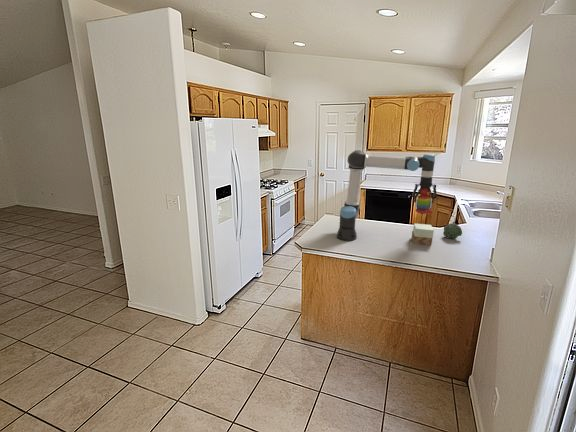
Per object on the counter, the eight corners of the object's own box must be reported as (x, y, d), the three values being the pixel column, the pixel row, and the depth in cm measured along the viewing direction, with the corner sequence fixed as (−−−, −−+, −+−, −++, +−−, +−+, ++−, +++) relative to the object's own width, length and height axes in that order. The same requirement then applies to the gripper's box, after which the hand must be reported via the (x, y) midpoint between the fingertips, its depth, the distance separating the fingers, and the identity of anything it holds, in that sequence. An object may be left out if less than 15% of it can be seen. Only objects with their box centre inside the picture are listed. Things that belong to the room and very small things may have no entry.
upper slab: (414, 236, 226) (415, 228, 225) (412, 230, 238) (413, 223, 236) (432, 238, 224) (433, 230, 222) (429, 232, 235) (431, 224, 233)
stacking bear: (422, 214, 221) (425, 189, 216) (411, 210, 230) (414, 187, 225) (433, 212, 225) (436, 188, 220) (422, 209, 234) (425, 185, 229)
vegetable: (467, 235, 238) (462, 231, 228) (452, 244, 244) (447, 241, 233) (458, 222, 245) (452, 218, 234) (443, 231, 250) (437, 228, 240)
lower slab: (413, 244, 228) (414, 236, 226) (411, 238, 239) (412, 230, 238) (431, 245, 226) (432, 237, 224) (428, 239, 237) (429, 232, 235)
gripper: (411, 176, 219) (407, 207, 225) (444, 177, 214) (440, 209, 221) (409, 175, 226) (406, 204, 232) (442, 176, 221) (437, 206, 228)
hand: (422, 207), depth 227 cm, fingers closed on stacking bear, 9 cm apart
